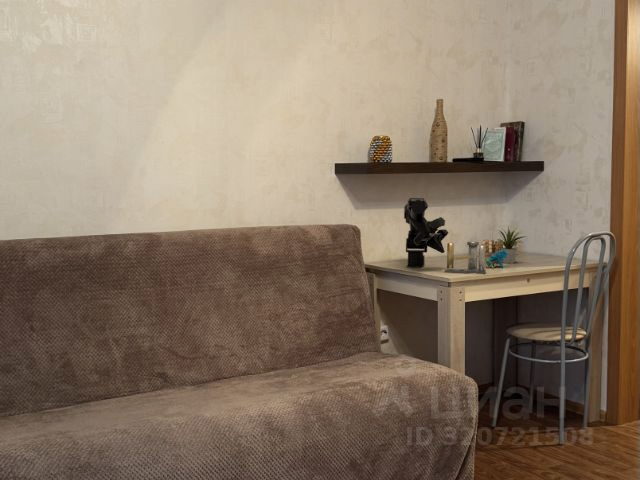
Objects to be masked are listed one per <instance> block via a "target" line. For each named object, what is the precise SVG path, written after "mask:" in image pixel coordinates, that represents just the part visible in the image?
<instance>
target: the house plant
mask: <svg viewBox="0 0 640 480" xmlns="http://www.w3.org/2000/svg"><path fill="white" fill-rule="evenodd" d="M517 228H518V227H516V228H514V230H512V231H511V230H510V227H509V226H508V227H507V232H506V230H504V229H501V230H503V231H504V232H503V231H501V230H498V234H499V235H501V238H502V239H501V238H498V239H496V241H499V245H501V244H502V245H503V246H504V247H502V248H500V251H501V250H502V251H504V250H506V252H507V253H508V254H507V255H506V256H507V257H506V258H503V259H504V260H503V261H502V264H504V263H505V264H515V262H516V256H517V252H518V249H517V248H514V247H515V245H518V243H520V244H521V243H522V244H524V241H523V240H520V239H522V238H523V239H524V238H527V237H528V236H525V235H524V236H519V235H521V234H523V232H521V230H519V231H518V232H516V233H515V231H516V230H517ZM525 232H527V231H525ZM504 233H505V234H504ZM514 233H515V234H514ZM505 235H506V236H505ZM517 236H518V237H517ZM519 240H520V241H519Z"/></svg>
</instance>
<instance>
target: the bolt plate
mask: <svg viewBox="0 0 640 480" xmlns="http://www.w3.org/2000/svg"><path fill="white" fill-rule="evenodd" d="M443 271H444V273H445V274H446V273H448V274H449V273H450V274H470V273H476V274H478V275H485V274H486V273H487V272H486V269H485V271H478V268H477V269H468V268H447V267H445V269H444V270H443Z"/></svg>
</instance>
